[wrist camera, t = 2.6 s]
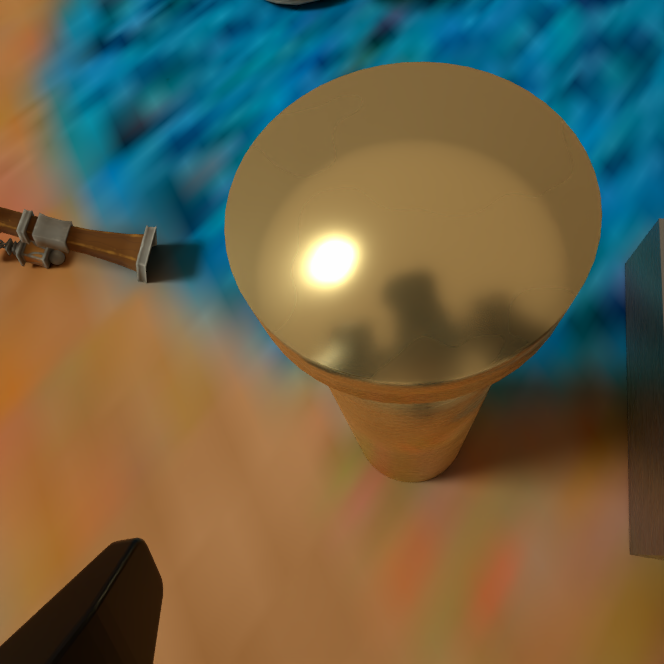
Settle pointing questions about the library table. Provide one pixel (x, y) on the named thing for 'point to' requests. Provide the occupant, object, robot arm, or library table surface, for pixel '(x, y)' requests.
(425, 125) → the pin
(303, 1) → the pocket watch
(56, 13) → the library table surface
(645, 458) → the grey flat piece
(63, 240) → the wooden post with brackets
